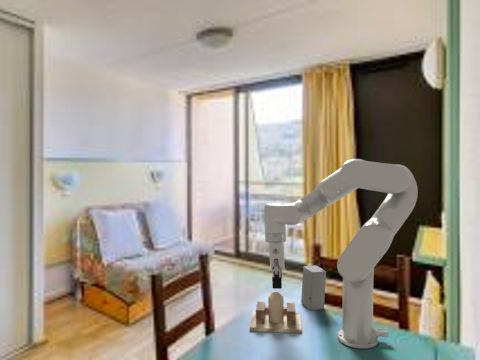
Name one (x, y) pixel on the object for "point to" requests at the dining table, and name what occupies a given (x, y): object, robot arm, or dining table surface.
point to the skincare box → (313, 287)
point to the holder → (288, 325)
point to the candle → (276, 307)
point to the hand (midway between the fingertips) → (277, 283)
